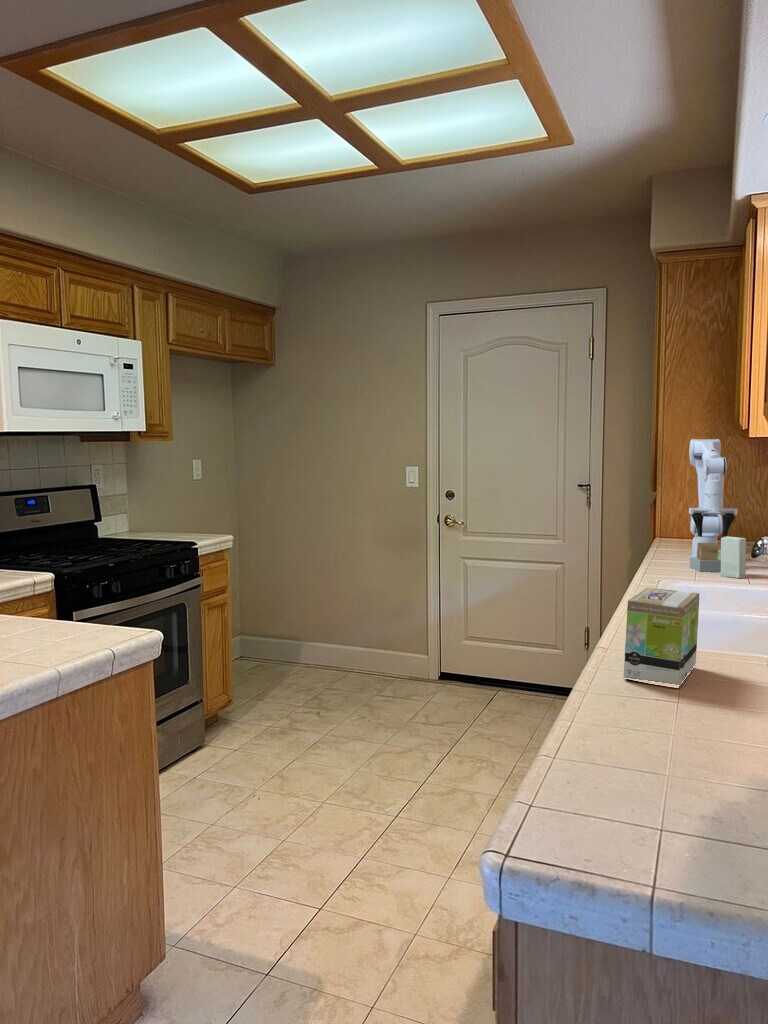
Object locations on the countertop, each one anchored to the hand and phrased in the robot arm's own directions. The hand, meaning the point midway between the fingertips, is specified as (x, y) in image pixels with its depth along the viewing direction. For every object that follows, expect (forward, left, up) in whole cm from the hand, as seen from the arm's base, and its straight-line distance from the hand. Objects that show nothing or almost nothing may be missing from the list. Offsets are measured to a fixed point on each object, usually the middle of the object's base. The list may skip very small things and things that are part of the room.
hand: (712, 536), depth 245 cm
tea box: (+114, -42, -11) cm, 122 cm away
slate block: (+4, -3, -11) cm, 12 cm away
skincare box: (+14, +2, -11) cm, 18 cm away
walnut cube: (+4, -3, -7) cm, 8 cm away
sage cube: (-1, +5, -11) cm, 12 cm away
